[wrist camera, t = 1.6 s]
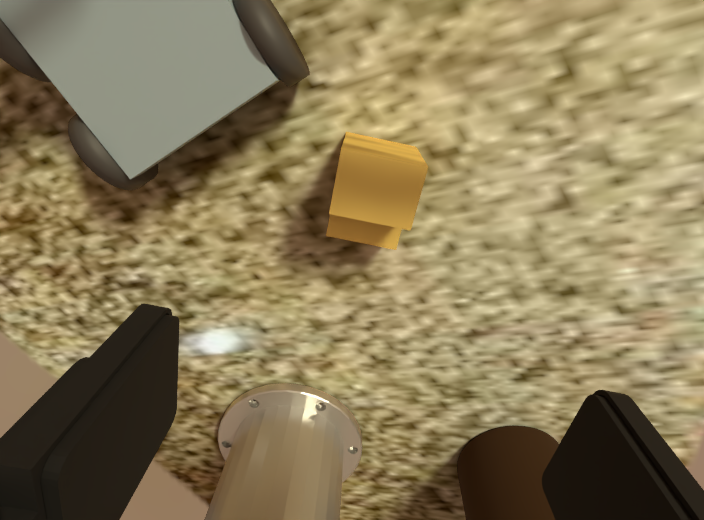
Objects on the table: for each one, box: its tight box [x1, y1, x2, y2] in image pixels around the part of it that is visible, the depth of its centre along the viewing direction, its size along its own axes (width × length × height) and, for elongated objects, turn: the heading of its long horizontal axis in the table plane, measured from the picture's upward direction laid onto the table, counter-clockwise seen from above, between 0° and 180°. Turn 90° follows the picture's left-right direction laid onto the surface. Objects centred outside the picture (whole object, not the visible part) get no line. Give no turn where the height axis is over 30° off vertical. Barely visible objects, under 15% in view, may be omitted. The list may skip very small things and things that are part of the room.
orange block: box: [326, 132, 428, 250], centre depth 25 cm, size 6×4×6 cm
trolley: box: [0, 0, 310, 190], centre depth 20 cm, size 12×13×10 cm
